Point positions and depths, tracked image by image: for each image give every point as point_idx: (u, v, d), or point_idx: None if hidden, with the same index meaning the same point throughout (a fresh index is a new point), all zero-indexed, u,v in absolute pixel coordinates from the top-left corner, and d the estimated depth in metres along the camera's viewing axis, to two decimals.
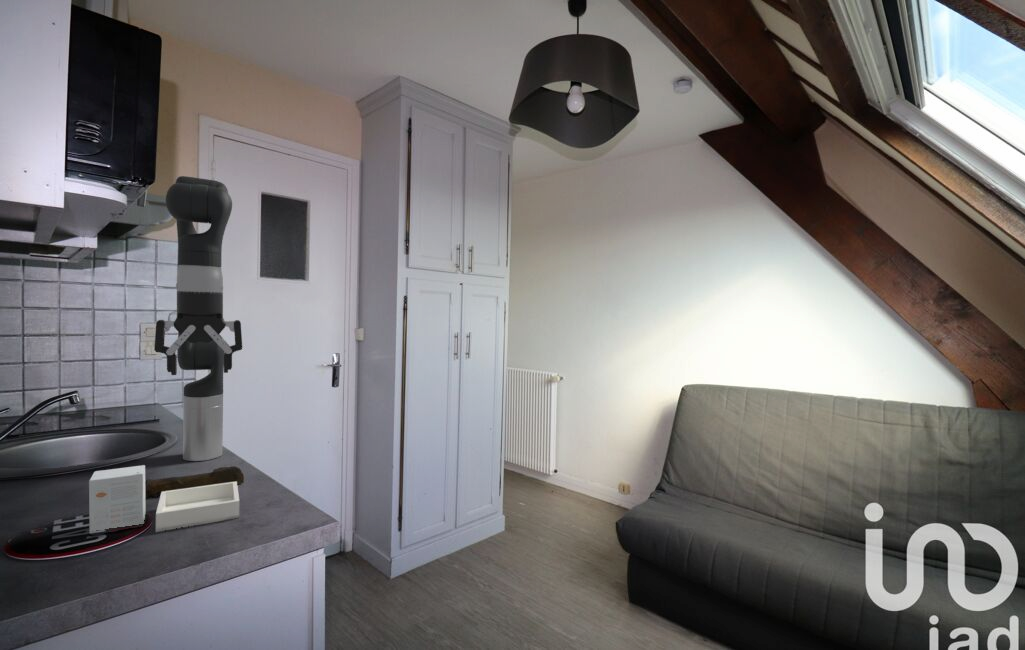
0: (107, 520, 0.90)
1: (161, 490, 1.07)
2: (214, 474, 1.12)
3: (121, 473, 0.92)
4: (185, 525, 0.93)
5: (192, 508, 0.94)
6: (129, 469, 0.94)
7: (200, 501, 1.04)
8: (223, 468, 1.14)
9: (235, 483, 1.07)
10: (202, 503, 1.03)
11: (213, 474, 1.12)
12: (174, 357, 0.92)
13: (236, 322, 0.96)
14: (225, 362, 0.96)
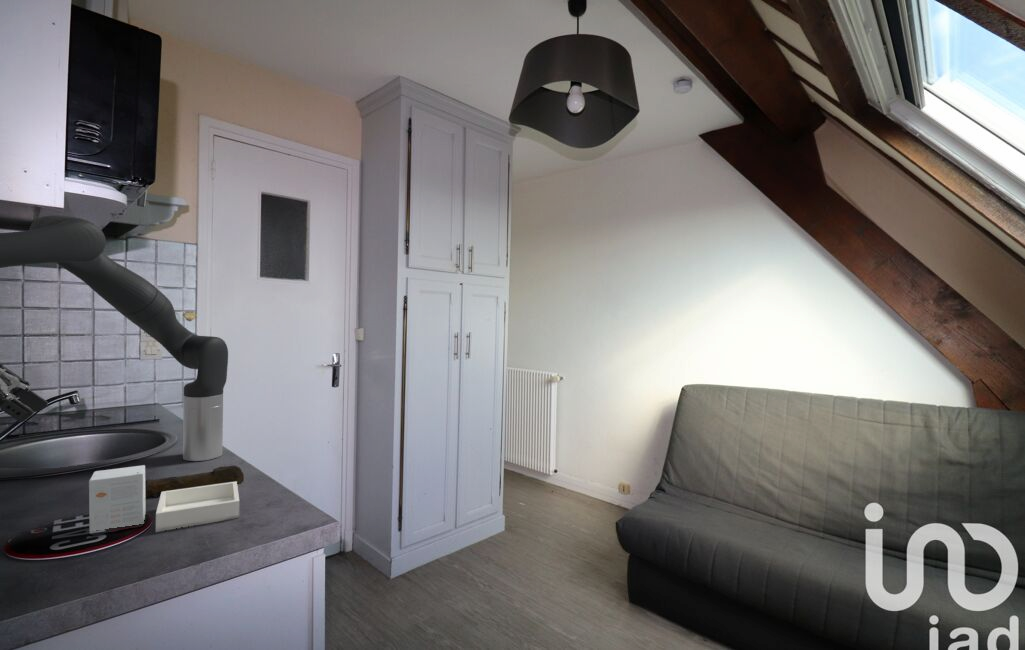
0: (107, 520, 0.90)
1: (161, 490, 1.07)
2: (214, 473, 1.13)
3: (121, 473, 0.92)
4: (185, 525, 0.93)
5: (192, 508, 0.94)
6: (129, 469, 0.94)
7: (200, 501, 1.04)
8: (223, 467, 1.15)
9: (235, 483, 1.07)
10: (202, 503, 1.03)
11: (213, 473, 1.13)
12: None
13: None
14: None
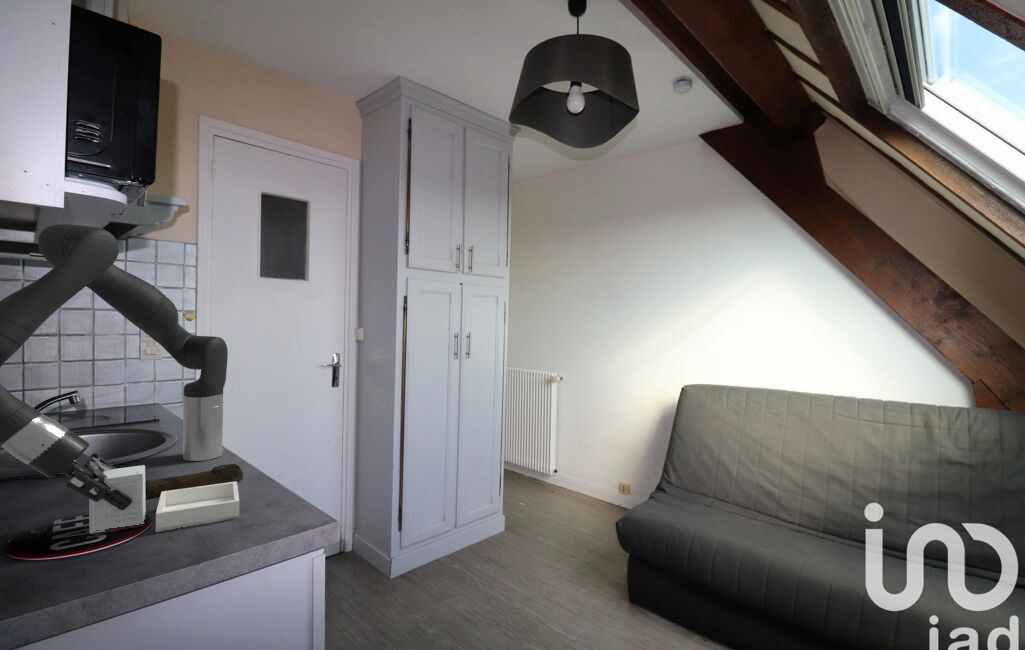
0: (107, 520, 0.90)
1: (162, 490, 1.07)
2: (215, 472, 1.14)
3: (121, 473, 0.92)
4: (185, 525, 0.93)
5: (192, 508, 0.94)
6: (129, 469, 0.94)
7: (200, 501, 1.04)
8: (222, 466, 1.16)
9: (235, 483, 1.07)
10: (202, 503, 1.03)
11: (213, 472, 1.14)
12: None
13: None
14: None
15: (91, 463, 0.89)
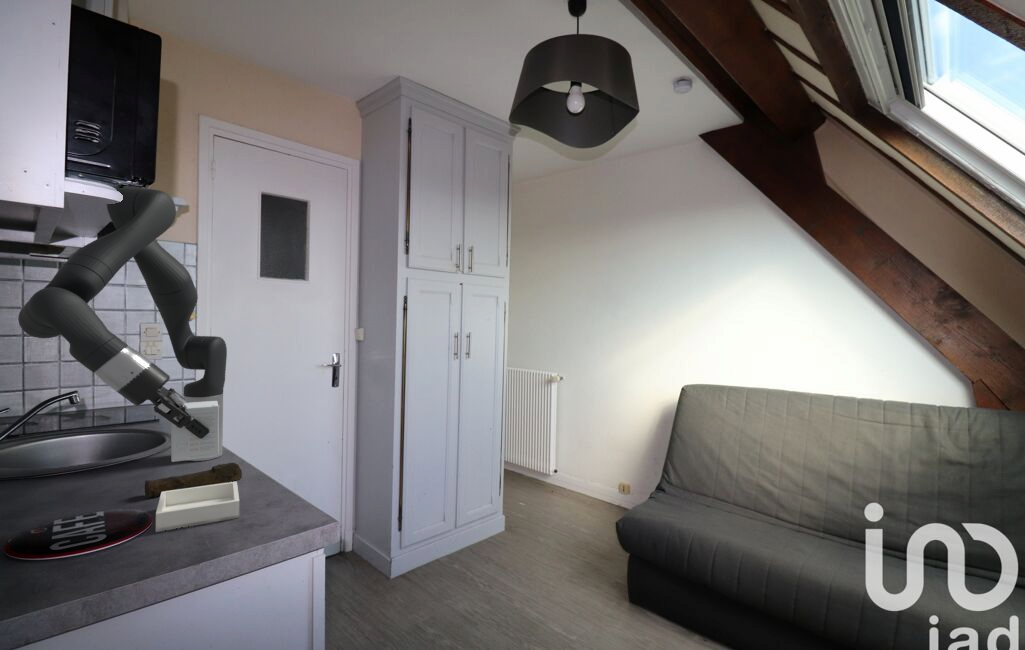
0: (187, 447, 0.96)
1: (163, 490, 1.07)
2: (214, 471, 1.14)
3: (198, 405, 0.98)
4: (185, 525, 0.93)
5: (192, 508, 0.94)
6: (204, 403, 1.00)
7: (200, 501, 1.04)
8: (222, 465, 1.16)
9: (235, 483, 1.07)
10: (202, 503, 1.03)
11: (213, 471, 1.14)
12: None
13: None
14: None
15: (173, 394, 0.95)
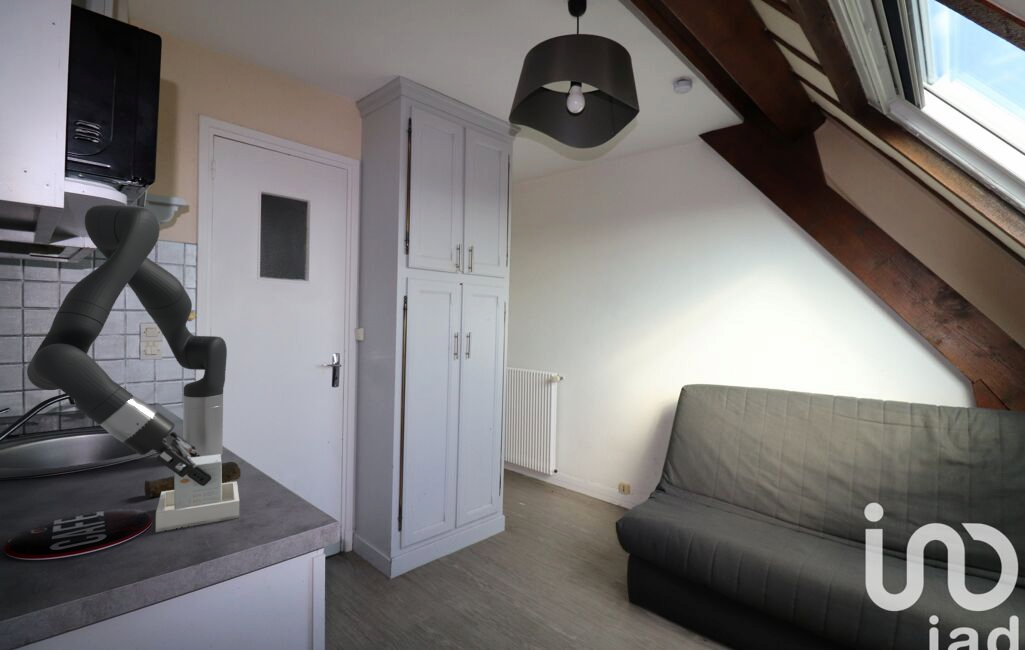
0: (190, 504, 0.96)
1: (164, 490, 1.07)
2: None
3: (201, 461, 0.98)
4: (185, 525, 0.93)
5: (192, 508, 0.94)
6: (208, 457, 1.00)
7: None
8: (221, 464, 1.17)
9: (235, 483, 1.07)
10: None
11: None
12: None
13: None
14: None
15: (177, 442, 0.96)
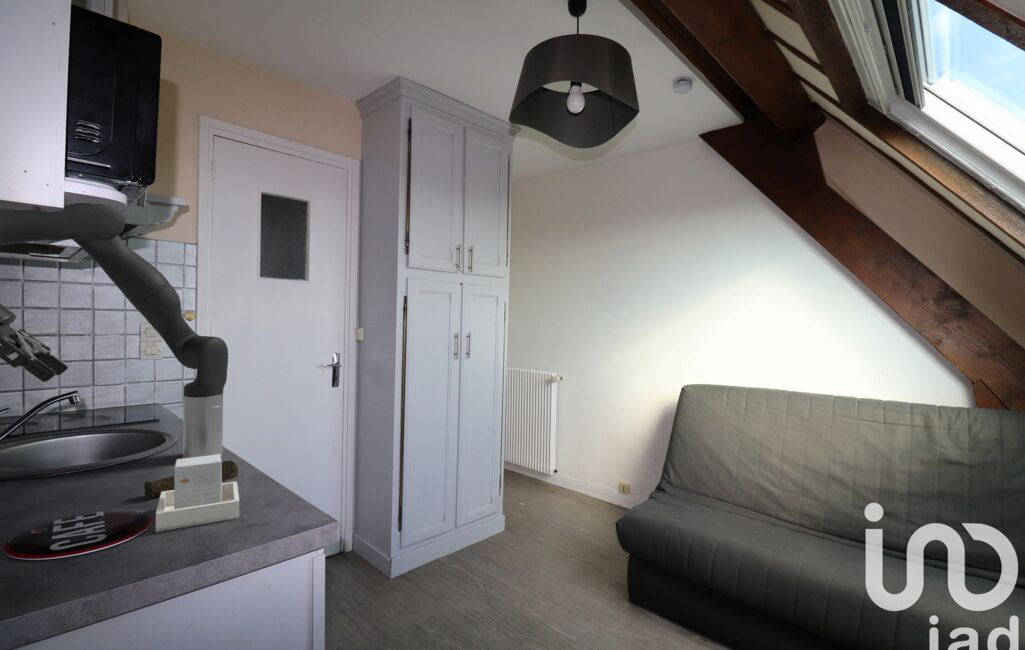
0: (190, 504, 0.96)
1: (165, 490, 1.07)
2: None
3: (201, 461, 0.98)
4: (185, 525, 0.93)
5: (192, 508, 0.94)
6: (207, 457, 1.00)
7: None
8: None
9: (235, 483, 1.07)
10: None
11: None
12: None
13: None
14: None
15: (16, 333, 0.87)
